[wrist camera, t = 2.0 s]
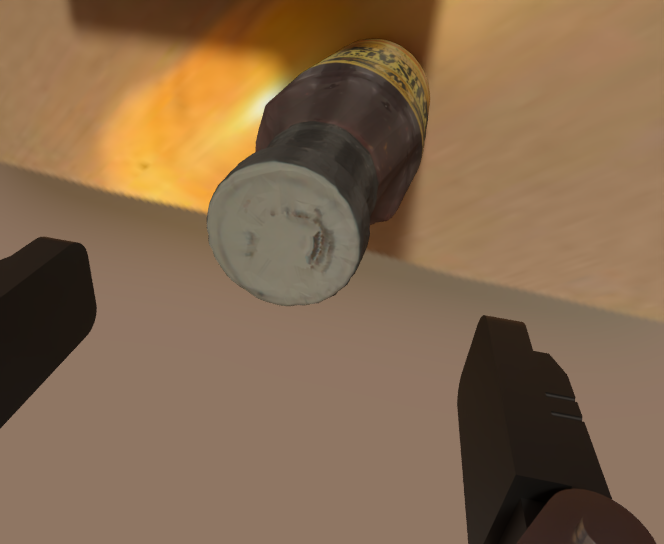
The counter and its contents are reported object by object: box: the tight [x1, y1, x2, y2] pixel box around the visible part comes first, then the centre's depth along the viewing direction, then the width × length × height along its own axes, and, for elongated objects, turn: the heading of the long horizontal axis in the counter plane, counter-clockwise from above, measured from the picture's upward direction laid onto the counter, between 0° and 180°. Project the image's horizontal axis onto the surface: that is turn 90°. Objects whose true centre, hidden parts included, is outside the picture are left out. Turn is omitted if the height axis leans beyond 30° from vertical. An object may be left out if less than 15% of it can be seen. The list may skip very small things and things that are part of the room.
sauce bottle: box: [207, 39, 430, 306], centre depth 21 cm, size 6×6×20 cm
